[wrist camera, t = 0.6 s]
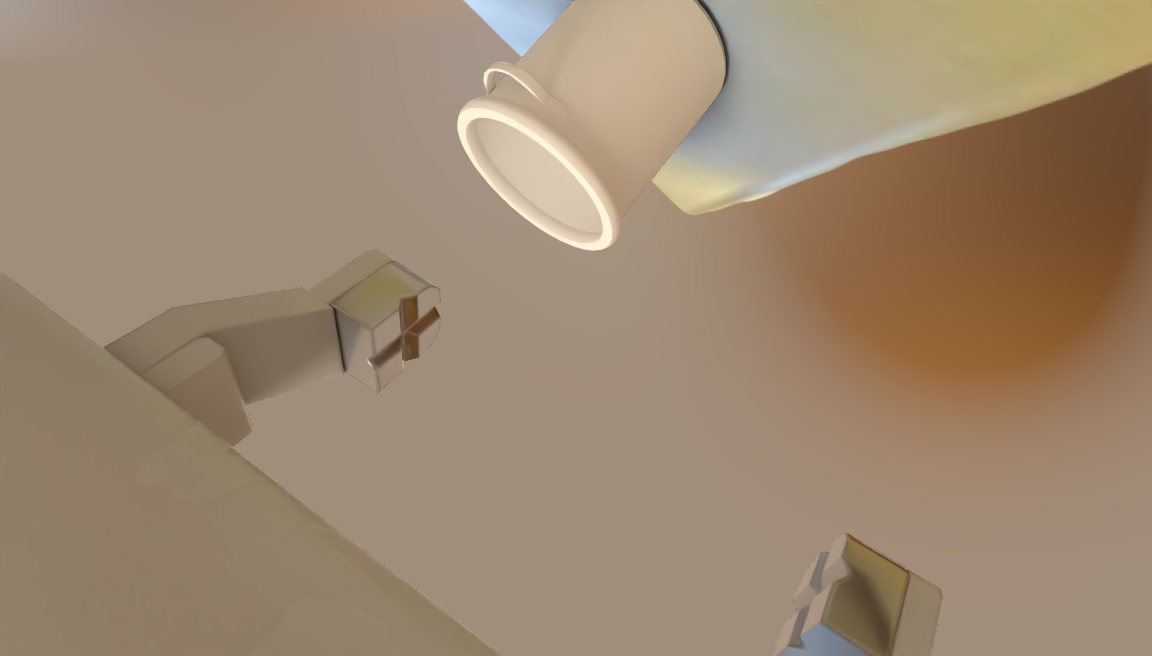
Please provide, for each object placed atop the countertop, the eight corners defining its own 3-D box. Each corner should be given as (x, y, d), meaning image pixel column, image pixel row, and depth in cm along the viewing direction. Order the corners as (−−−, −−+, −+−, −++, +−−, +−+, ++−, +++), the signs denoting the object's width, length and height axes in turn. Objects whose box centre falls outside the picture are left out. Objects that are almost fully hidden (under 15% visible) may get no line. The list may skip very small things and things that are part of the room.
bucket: (758, 130, 81) (646, 281, 75) (627, 111, 95) (523, 235, 89) (703, -73, 62) (548, 105, 56) (550, -59, 77) (412, 84, 70)
